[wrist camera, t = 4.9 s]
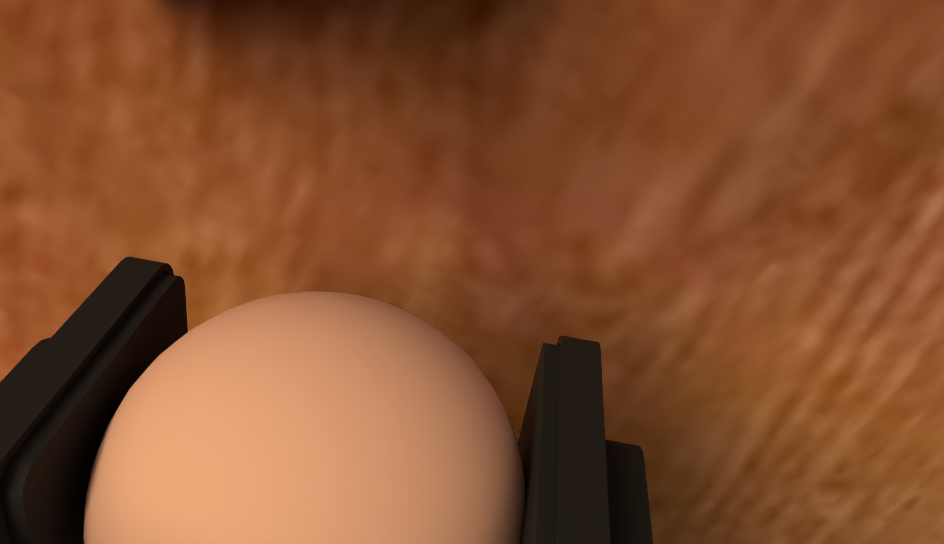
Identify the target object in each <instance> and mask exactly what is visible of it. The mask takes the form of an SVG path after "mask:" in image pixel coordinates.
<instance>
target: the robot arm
mask: <svg viewBox="0 0 944 544" xmlns="http://www.w3.org/2000/svg"><path fill="white" fill-rule="evenodd" d="M186 333H188V329H187V313H186V296H185V284H184V280H183V278H182V277H180V276H175V275H174V274H173V270H172V267H171V266H170V265H169V264H167V263H161V262H156V261H150V260H145V259H139V258H134V257H126V258H124V259H123V260H122V261H121V262H120V263H119V264H118V265H117V266H116V267H115V268H114V269H113V270H112V272H111V273H110V274H109V275H108V276H107V277H106V278H105V279H104V280H103V281H102V283H101V284H100V285H99V286H98V287H97V288H96V289H95V290H94V291H93V292H92V294H91V295H90V296H89V297H88V298H87V299H86V300H85V301H84V302H83V303H82V304H81V306H80V307H79V308H78V309H77V310H76V311H75V312H74V313H73V314H72V315H71V317H70V318H69V319H68V320H67V321H66V322H65V323H64V324H63V325H62V326H61V327H60V329H59V330H58V331H57V332H56V333H55V334H54V335H53V336H52V337H51V338H47V339H44V340H41V341H40V342H39V343H38V344H36V345H35V346H34V347H33V348H32V349H31V350H30V351H29V352H28V353H27V354H26V355H25V356H24V357H23V359H22V360H21V361H20V362H19V363H18V364H17V365H16V366H15V367H14V368H13V369H12V370H11V371H10V373H9V374H8V375H7V376H6V377H5V378H4V379H3V380H2V381H1V382H0V544H84V538H83V535H84V509H85V501H86V493H87V488H88V483H89V478H90V473H91V469H92V466H93V463H94V460H95V457H96V454H97V451H98V449H99V446H100V443H101V441H102V438H103V436H104V433H105V430H106V428H107V426H108V424H109V423H110V421H111V419H112V417H113V416H114V414H115V412H116V411H117V409H118V407H119V406H120V404H121V402H122V401H123V399H124V397H125V396H126V394H127V392H128V391H129V389H130V388H131V387H132V386H133V384H134V383H135V382H136V381H137V380H138V378H139V377H140V376H141V375H142V374H143V373H144V371H145V370H146V369H147V368H148V367H149V366H150V365H151V364H152V362H153V361H154V360H155V359H156V358H157V357H158V356H159V355H160V354H161V353H163V352H164V351H165V350H166V349H167V348H169V347H170V346H171V345H172V344H173V343H175V342H176V341H177V340H178V339H180V338H181V337H182V336H184V335H185V334H186ZM518 447H519V452H520V457H521V462H522V467H523V472H524V477H525V510H524V520H523V529H522V536H521V542H520V544H653V539H652V529H651V520H650V510H649V501H648V491H647V482H646V472H645V463H644V456H643V451H642V449H641V448H640V446H636V445H631V444H625V443H620V442H615V441H609V440H605V427H604V408H603V388H602V368H601V349H600V344H599V342H594V341H588V340H583V339H577V338H572V337H567V336H560V337H559V339H558V342H557V345H553V344H547V343H543V346H542V349H541V352H540V356H539V360H538V364H537V368H536V372H535V376H534V380H533V384H532V388H531V392H530V396H529V400H528V404H527V409H526V413H525V417H524V421H523V425H522V429H521V433H520V437H519V441H518Z"/></svg>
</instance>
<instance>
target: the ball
mask: <svg viewBox="0 0 944 544" xmlns="http://www.w3.org/2000/svg"><path fill="white" fill-rule="evenodd" d="M524 510H525V477H524V472H523V467H522V462H521V457H520V452H519V447H518V442H517V439H516V436H515V434H514V431H513V428H512V426H511V423H510V421H509V418H508V416H507V413H506V411H505V409H504V406H503V404H502V402H501V401H500V399H499V397H498V395H497V394H496V392H495V390H494V388H493V387H492V385H491V384H490V382H489V381H488V380H487V378H486V377H485V375H484V374H483V373H482V372H481V370H480V369H479V368H478V366H477V365H476V364H475V362H474V361H473V360H472V359H471V358H470V357H469V356H468V355H467V354H466V353H465V352H464V351H463V350H462V349H461V348H460V347H459V346H458V345H457V344H456V343H455V342H453V341H452V340H451V339H450V338H448V337H447V336H446V335H444V334H443V333H442V332H441V331H439V330H438V329H437V328H435V327H434V326H433V325H431V324H429V323H428V322H426V321H424V320H423V319H421V318H420V317H418V316H416V315H414V314H412V313H410V312H408V311H406V310H404V309H402V308H399V307H397V306H395V305H392V304H389V303H386V302H383V301H380V300H378V299H374V298H369V297H365V296H361V295H357V294H349V293H341V292H322V291H303V292H293V293H283V294H278V295H274V296H269V297H265V298H261V299H257V300H254V301H251V302H247V303H245V304H242V305H239V306H237V307H234V308H231V309H228V310H226V311H224V312H222V313H220V314H219V315H217V316H215V317H213V318H211V319H209V320H208V321H206V322H204V323H202V324H200V325H199V326H197V327H195V328H193V329H191V330H190V331H189V332H188V333H186V334H185V335H184V336H182V337H181V338H180V339H178V340H177V341H176V342H175V343H173V344H172V345H171V346H170V347H169V348H167V349H166V350H165V351H164V352H163V353H161V354H160V355H159V356H158V357H157V358H156V359H155V360H154V361H153V362H152V364H151V365H150V366H149V367H148V368H147V369H146V370H145V371H144V373H143V374H142V375H141V376H140V377H139V378H138V380H137V381H136V382H135V383H134V384H133V386H132V387H131V388H130V389H129V391H128V392H127V394H126V396H125V397H124V399H123V401H122V402H121V404H120V406H119V407H118V409H117V411H116V412H115V414H114V416H113V417H112V419H111V421H110V423H109V424H108V426H107V428H106V430H105V433H104V436H103V438H102V441H101V443H100V446H99V449H98V451H97V454H96V457H95V460H94V463H93V466H92V469H91V473H90V478H89V483H88V488H87V493H86V501H85V509H84V535H83V538H84V544H520V542H521V536H522V529H523V520H524Z"/></svg>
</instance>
